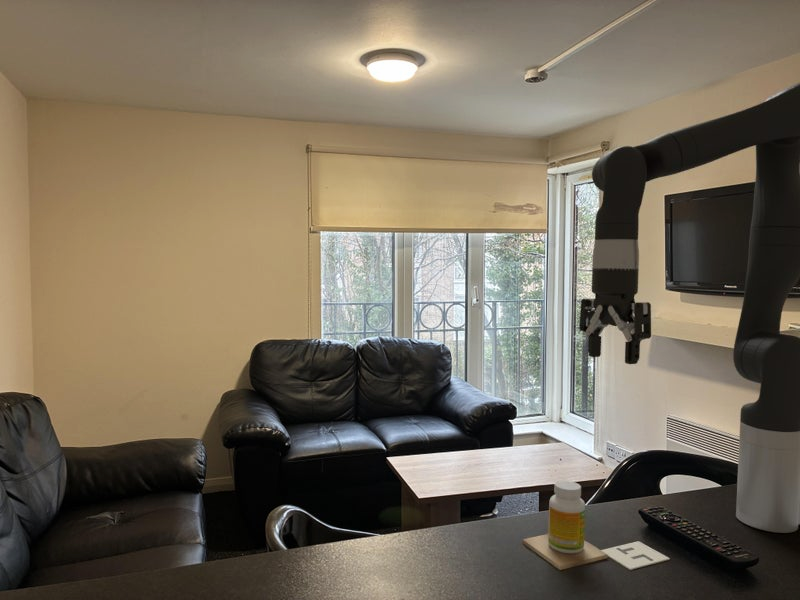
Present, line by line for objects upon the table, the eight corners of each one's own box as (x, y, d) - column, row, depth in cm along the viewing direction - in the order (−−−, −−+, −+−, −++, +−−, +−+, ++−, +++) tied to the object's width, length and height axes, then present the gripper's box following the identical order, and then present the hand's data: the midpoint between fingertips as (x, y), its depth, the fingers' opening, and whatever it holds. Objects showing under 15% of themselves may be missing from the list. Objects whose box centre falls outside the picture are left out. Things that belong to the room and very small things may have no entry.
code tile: (638, 542, 93) (638, 541, 93) (669, 559, 88) (669, 558, 88) (600, 551, 90) (600, 550, 90) (630, 570, 84) (630, 568, 84)
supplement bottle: (585, 556, 87) (588, 493, 86) (548, 552, 88) (550, 489, 87) (581, 540, 92) (584, 480, 92) (547, 536, 93) (549, 477, 93)
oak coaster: (567, 533, 96) (567, 529, 96) (607, 558, 88) (607, 554, 88) (522, 543, 92) (522, 539, 92) (559, 570, 84) (560, 566, 84)
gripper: (665, 267, 95) (661, 365, 96) (601, 267, 108) (599, 353, 109) (630, 266, 92) (627, 367, 93) (570, 266, 105) (567, 355, 106)
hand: (612, 360), depth 101 cm, fingers open, 8 cm apart
